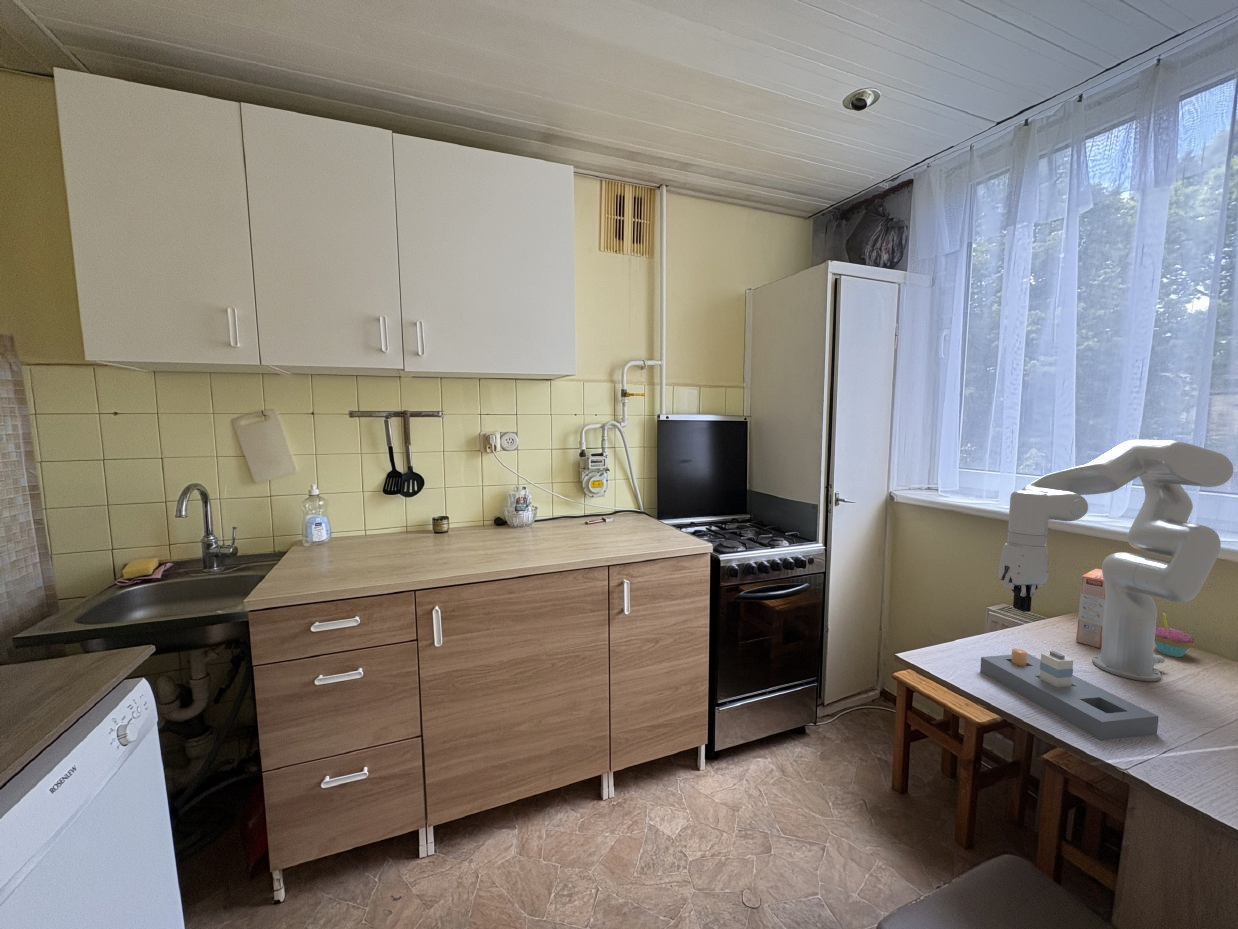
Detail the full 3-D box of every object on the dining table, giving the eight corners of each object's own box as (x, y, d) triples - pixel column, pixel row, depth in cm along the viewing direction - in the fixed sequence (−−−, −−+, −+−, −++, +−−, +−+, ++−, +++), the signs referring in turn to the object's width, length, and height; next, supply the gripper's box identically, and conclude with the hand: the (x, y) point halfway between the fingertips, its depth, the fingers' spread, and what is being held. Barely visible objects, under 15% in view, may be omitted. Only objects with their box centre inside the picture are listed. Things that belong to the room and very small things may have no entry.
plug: (1052, 691, 116) (1055, 649, 115) (1070, 701, 112) (1073, 657, 111) (1038, 692, 116) (1041, 650, 115) (1055, 702, 112) (1058, 658, 111)
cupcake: (1148, 652, 137) (1151, 612, 136) (1147, 643, 142) (1151, 604, 142) (1194, 663, 130) (1198, 621, 130) (1192, 653, 136) (1196, 613, 135)
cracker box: (1102, 650, 138) (1108, 580, 137) (1075, 642, 143) (1080, 575, 142) (1116, 638, 146) (1121, 572, 144) (1089, 631, 151) (1094, 567, 149)
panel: (1026, 669, 128) (1027, 653, 127) (1156, 736, 100) (1158, 716, 100) (980, 673, 126) (981, 657, 125) (1100, 742, 98) (1102, 722, 98)
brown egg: (1017, 670, 124) (1019, 648, 124) (1028, 676, 121) (1030, 653, 121) (1007, 671, 124) (1008, 649, 123) (1018, 677, 121) (1020, 654, 120)
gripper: (1037, 535, 125) (1032, 603, 126) (987, 537, 123) (982, 606, 124) (1067, 542, 117) (1062, 614, 119) (1015, 544, 115) (1010, 617, 117)
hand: (1021, 609), depth 121 cm, fingers closed
